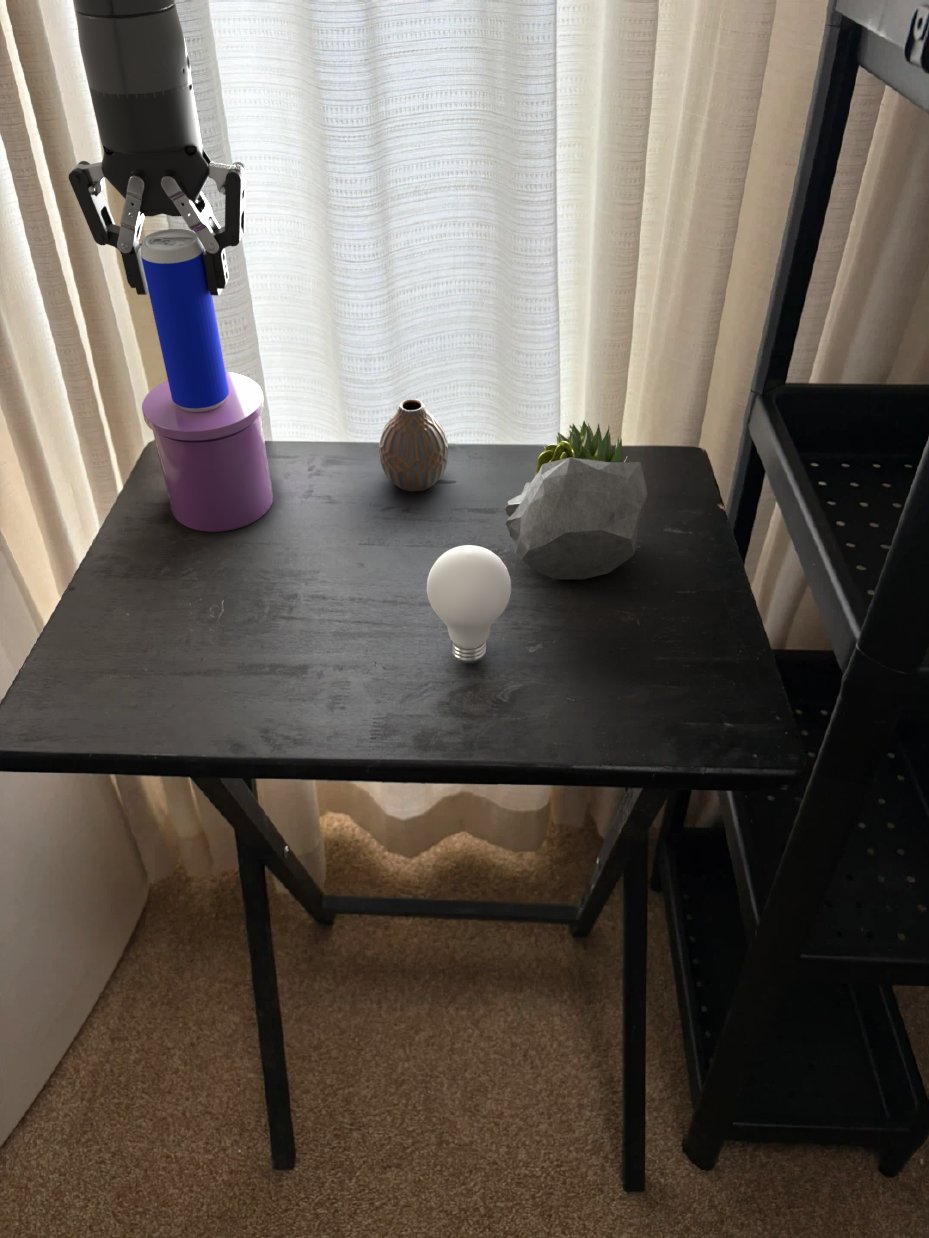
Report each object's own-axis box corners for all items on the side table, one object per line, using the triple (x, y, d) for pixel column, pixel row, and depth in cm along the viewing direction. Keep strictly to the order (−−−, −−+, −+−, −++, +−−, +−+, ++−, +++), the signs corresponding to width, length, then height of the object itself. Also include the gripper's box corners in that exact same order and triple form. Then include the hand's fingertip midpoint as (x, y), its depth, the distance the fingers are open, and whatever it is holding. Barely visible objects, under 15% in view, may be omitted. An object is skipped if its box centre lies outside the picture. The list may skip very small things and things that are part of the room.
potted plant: (482, 567, 90) (475, 438, 98) (583, 617, 97) (569, 492, 105) (584, 499, 82) (568, 365, 90) (685, 558, 89) (662, 429, 98)
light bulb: (473, 620, 90) (473, 517, 82) (525, 660, 86) (530, 557, 78) (413, 654, 86) (407, 551, 79) (464, 698, 83) (463, 593, 75)
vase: (462, 479, 106) (462, 404, 100) (414, 508, 102) (411, 431, 96) (415, 454, 109) (412, 380, 103) (367, 481, 106) (361, 406, 100)
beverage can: (236, 387, 97) (209, 228, 87) (221, 416, 93) (191, 253, 83) (182, 385, 97) (149, 226, 87) (165, 413, 93) (129, 250, 83)
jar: (154, 534, 99) (127, 431, 91) (180, 470, 107) (157, 370, 100) (268, 535, 99) (251, 431, 91) (285, 471, 107) (271, 371, 99)
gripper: (26, 89, 74) (85, 310, 86) (225, 90, 74) (257, 311, 85) (59, 62, 80) (110, 273, 91) (244, 62, 80) (272, 274, 91)
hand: (181, 290), depth 88 cm, fingers open, 5 cm apart
